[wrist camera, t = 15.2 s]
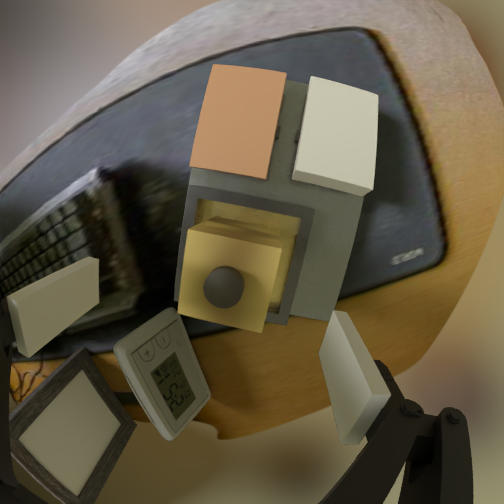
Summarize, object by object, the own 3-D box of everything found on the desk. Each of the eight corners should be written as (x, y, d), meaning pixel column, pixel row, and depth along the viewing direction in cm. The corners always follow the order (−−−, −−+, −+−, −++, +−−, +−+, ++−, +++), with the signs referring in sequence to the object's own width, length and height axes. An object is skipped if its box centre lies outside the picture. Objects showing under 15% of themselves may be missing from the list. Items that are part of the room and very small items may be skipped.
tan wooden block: (204, 277, 26) (171, 320, 17) (214, 215, 25) (181, 232, 16) (265, 291, 26) (260, 342, 17) (279, 229, 25) (282, 253, 16)
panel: (180, 287, 29) (169, 299, 26) (217, 77, 24) (210, 64, 20) (325, 317, 29) (331, 333, 25) (372, 109, 23) (384, 100, 20)
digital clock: (213, 397, 33) (198, 448, 24) (160, 391, 33) (136, 436, 25) (201, 305, 30) (174, 349, 21) (139, 302, 30) (98, 339, 21)
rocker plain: (291, 179, 21) (295, 169, 19) (307, 90, 22) (311, 75, 19) (362, 196, 21) (372, 189, 19) (369, 107, 21) (378, 95, 19)
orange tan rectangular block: (197, 168, 23) (189, 166, 20) (218, 74, 21) (213, 64, 18) (266, 180, 23) (265, 178, 20) (285, 83, 21) (286, 73, 18)
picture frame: (137, 425, 36) (86, 518, 16) (128, 424, 36) (77, 514, 16) (85, 347, 33) (-4, 434, 13) (77, 348, 33) (-10, 431, 13)
